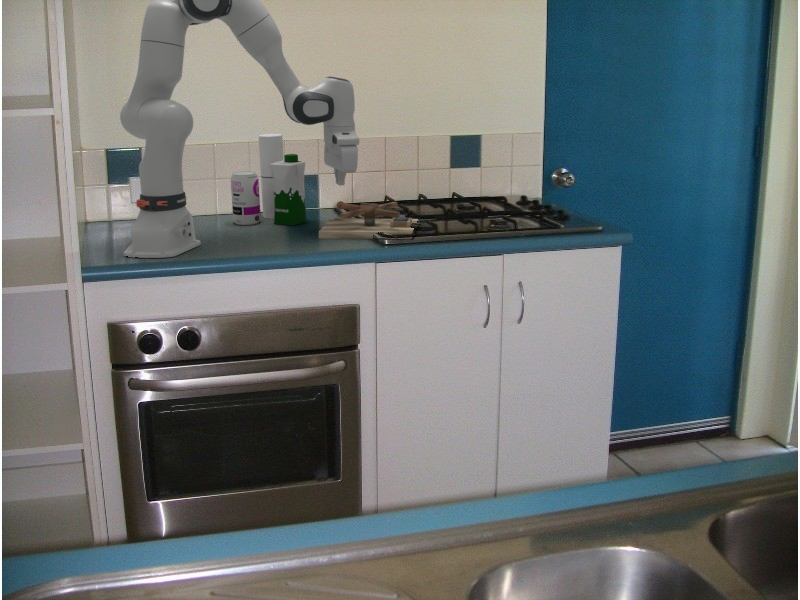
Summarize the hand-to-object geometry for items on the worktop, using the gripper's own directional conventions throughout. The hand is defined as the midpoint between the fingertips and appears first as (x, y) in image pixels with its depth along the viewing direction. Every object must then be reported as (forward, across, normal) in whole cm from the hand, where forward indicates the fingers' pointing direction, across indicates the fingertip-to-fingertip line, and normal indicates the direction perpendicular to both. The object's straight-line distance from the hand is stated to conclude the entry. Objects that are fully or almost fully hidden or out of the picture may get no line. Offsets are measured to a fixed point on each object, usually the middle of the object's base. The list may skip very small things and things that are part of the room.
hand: (340, 184), depth 262 cm
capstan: (+8, +6, +6) cm, 12 cm away
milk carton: (+13, -16, -11) cm, 23 cm away
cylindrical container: (+13, -27, -13) cm, 33 cm away
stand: (+13, +7, +6) cm, 16 cm away
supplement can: (+14, -21, -23) cm, 34 cm away
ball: (+9, +11, +14) cm, 20 cm away
